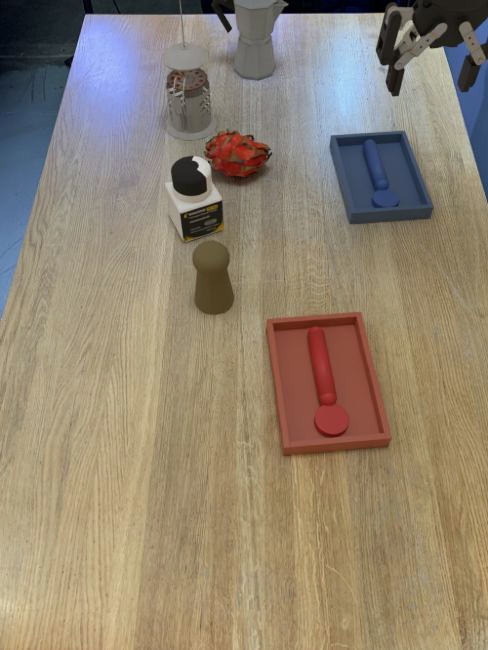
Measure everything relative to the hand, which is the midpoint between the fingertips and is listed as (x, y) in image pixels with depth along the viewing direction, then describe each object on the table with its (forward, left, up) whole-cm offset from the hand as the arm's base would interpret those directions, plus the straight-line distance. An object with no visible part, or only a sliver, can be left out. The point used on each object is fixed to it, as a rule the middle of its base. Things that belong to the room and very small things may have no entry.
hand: (428, 90), depth 73 cm
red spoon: (+14, +25, -28) cm, 40 cm away
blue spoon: (-2, -14, -28) cm, 31 cm away
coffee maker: (+17, -51, -28) cm, 61 cm away
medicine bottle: (+30, -8, -28) cm, 42 cm away
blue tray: (-2, -15, -28) cm, 32 cm away
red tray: (+14, +24, -28) cm, 40 cm away
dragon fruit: (+22, -20, -28) cm, 41 cm away
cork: (+28, +8, -28) cm, 41 cm away
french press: (+30, -33, -28) cm, 53 cm away
